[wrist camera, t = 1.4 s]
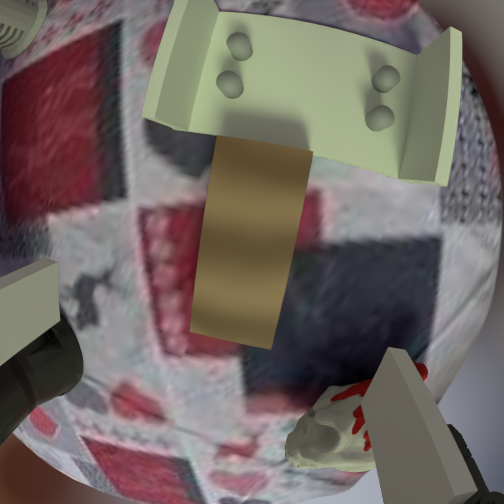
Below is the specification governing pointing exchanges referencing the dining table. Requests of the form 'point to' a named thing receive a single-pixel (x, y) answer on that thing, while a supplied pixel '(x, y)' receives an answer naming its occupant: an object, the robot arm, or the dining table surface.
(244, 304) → the brown long block
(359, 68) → the shelf frame
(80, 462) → the dining table surface
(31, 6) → the french press
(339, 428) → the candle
